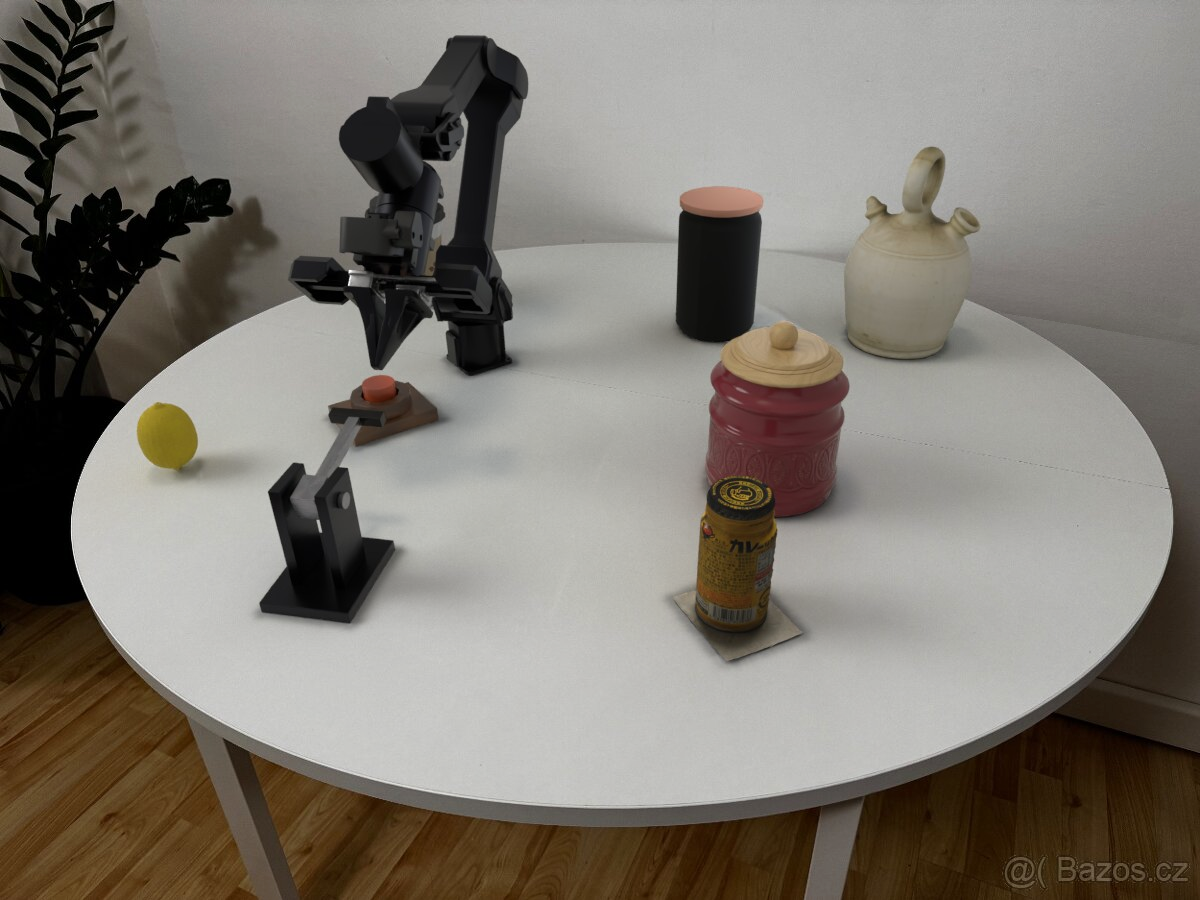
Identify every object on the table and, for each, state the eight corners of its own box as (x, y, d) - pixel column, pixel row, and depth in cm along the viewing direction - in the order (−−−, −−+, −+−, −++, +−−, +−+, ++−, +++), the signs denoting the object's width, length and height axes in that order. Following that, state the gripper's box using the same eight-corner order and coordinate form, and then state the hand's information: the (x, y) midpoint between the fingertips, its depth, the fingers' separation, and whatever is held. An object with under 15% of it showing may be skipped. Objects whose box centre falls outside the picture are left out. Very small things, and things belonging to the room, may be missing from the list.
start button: (389, 385, 103) (386, 371, 102) (401, 397, 101) (399, 383, 100) (359, 394, 102) (356, 380, 101) (371, 406, 99) (369, 392, 98)
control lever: (337, 420, 83) (330, 401, 81) (388, 425, 82) (382, 405, 80) (281, 516, 74) (273, 496, 73) (338, 522, 74) (330, 502, 72)
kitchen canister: (823, 531, 84) (848, 362, 74) (689, 505, 88) (697, 341, 78) (841, 460, 94) (866, 304, 85) (721, 439, 98) (731, 288, 89)
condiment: (743, 574, 79) (754, 459, 72) (802, 634, 72) (819, 515, 66) (671, 599, 76) (676, 483, 70) (726, 664, 70) (736, 542, 63)
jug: (981, 345, 117) (1026, 149, 104) (902, 377, 110) (940, 171, 97) (888, 307, 128) (919, 126, 115) (811, 334, 121) (834, 144, 107)
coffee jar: (765, 322, 124) (777, 193, 115) (732, 351, 117) (742, 215, 107) (697, 307, 129) (702, 181, 120) (661, 333, 122) (664, 202, 112)
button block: (410, 394, 108) (406, 368, 106) (439, 421, 102) (435, 394, 101) (330, 418, 103) (324, 391, 102) (355, 448, 98) (350, 420, 96)
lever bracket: (315, 541, 84) (292, 443, 78) (395, 550, 82) (378, 451, 77) (261, 613, 75) (231, 509, 70) (350, 624, 74) (327, 520, 68)
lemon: (186, 486, 92) (165, 419, 88) (138, 480, 93) (115, 414, 89) (216, 457, 96) (197, 392, 92) (170, 452, 97) (149, 388, 93)
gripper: (276, 171, 82) (240, 331, 78) (472, 178, 78) (444, 346, 75) (329, 228, 92) (300, 372, 89) (503, 237, 89) (480, 386, 86)
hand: (376, 368), depth 84 cm, fingers closed
